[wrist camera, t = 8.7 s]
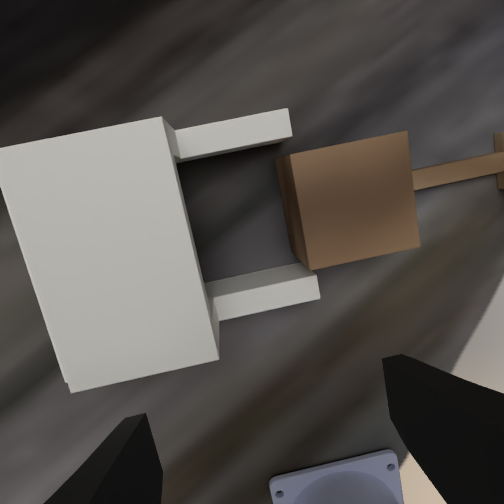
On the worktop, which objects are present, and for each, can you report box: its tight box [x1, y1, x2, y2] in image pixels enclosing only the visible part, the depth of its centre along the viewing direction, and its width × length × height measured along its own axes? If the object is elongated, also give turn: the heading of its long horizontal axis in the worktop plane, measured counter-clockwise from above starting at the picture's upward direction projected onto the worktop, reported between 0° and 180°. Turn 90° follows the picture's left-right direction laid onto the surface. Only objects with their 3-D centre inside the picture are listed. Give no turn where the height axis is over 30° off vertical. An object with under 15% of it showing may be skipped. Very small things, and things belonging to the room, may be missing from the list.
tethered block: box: [274, 131, 504, 271], centre depth 18 cm, size 5×15×6 cm, turn 101°
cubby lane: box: [0, 108, 320, 393], centre depth 17 cm, size 9×11×7 cm
